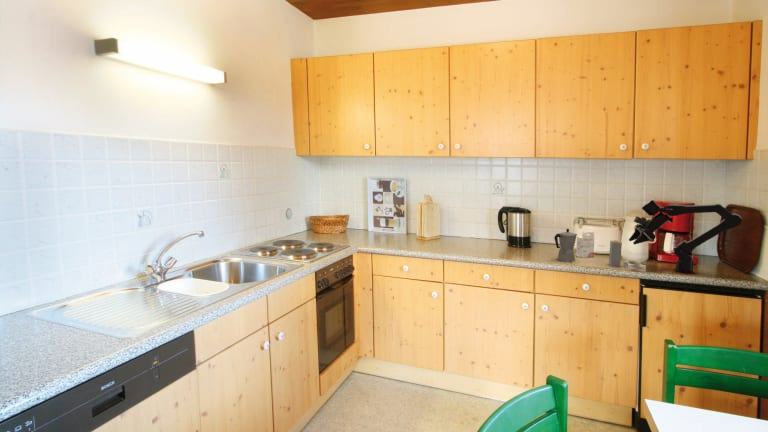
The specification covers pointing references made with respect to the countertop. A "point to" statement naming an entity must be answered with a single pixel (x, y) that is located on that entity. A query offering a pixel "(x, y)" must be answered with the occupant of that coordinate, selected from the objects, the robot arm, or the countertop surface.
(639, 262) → the rail dock
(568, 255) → the coffeepot
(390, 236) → the countertop surface
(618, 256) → the block
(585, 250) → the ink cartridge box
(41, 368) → the countertop surface
